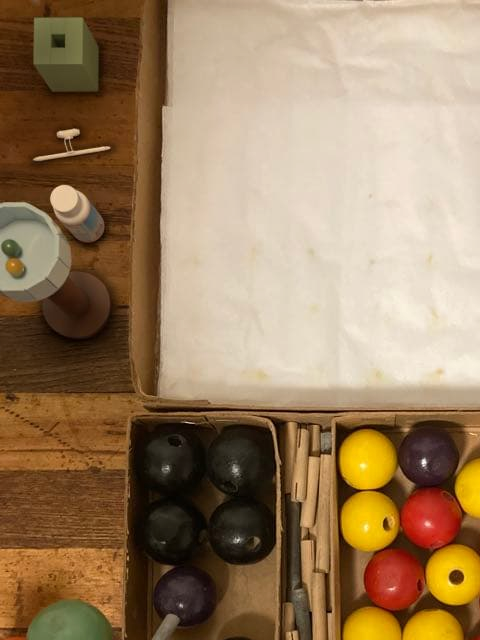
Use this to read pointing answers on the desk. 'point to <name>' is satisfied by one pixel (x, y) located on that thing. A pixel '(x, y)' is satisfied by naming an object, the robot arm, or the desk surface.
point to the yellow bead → (14, 266)
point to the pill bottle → (77, 213)
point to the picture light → (69, 135)
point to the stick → (35, 2)
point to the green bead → (10, 248)
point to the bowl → (33, 253)
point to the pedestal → (78, 306)
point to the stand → (66, 54)
